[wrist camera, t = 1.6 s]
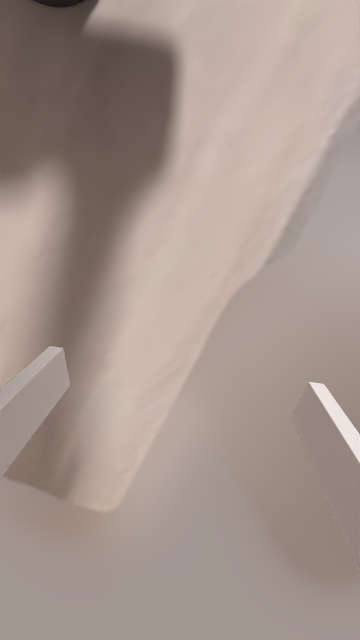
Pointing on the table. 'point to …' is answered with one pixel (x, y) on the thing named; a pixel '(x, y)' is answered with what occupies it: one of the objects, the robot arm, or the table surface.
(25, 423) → the robot arm
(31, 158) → the table surface
